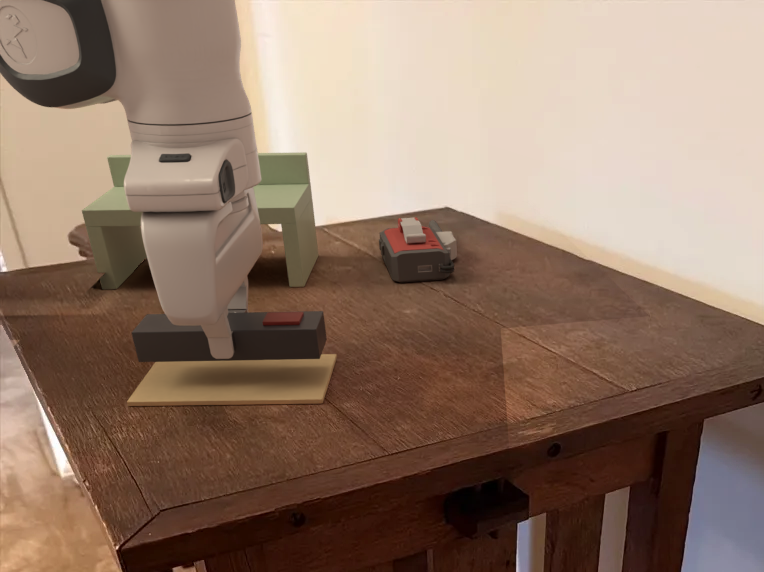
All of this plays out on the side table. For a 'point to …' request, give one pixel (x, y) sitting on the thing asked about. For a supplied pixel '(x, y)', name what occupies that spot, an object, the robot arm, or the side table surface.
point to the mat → (235, 382)
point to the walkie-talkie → (418, 251)
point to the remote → (252, 337)
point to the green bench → (274, 202)
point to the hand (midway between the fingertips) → (232, 343)
